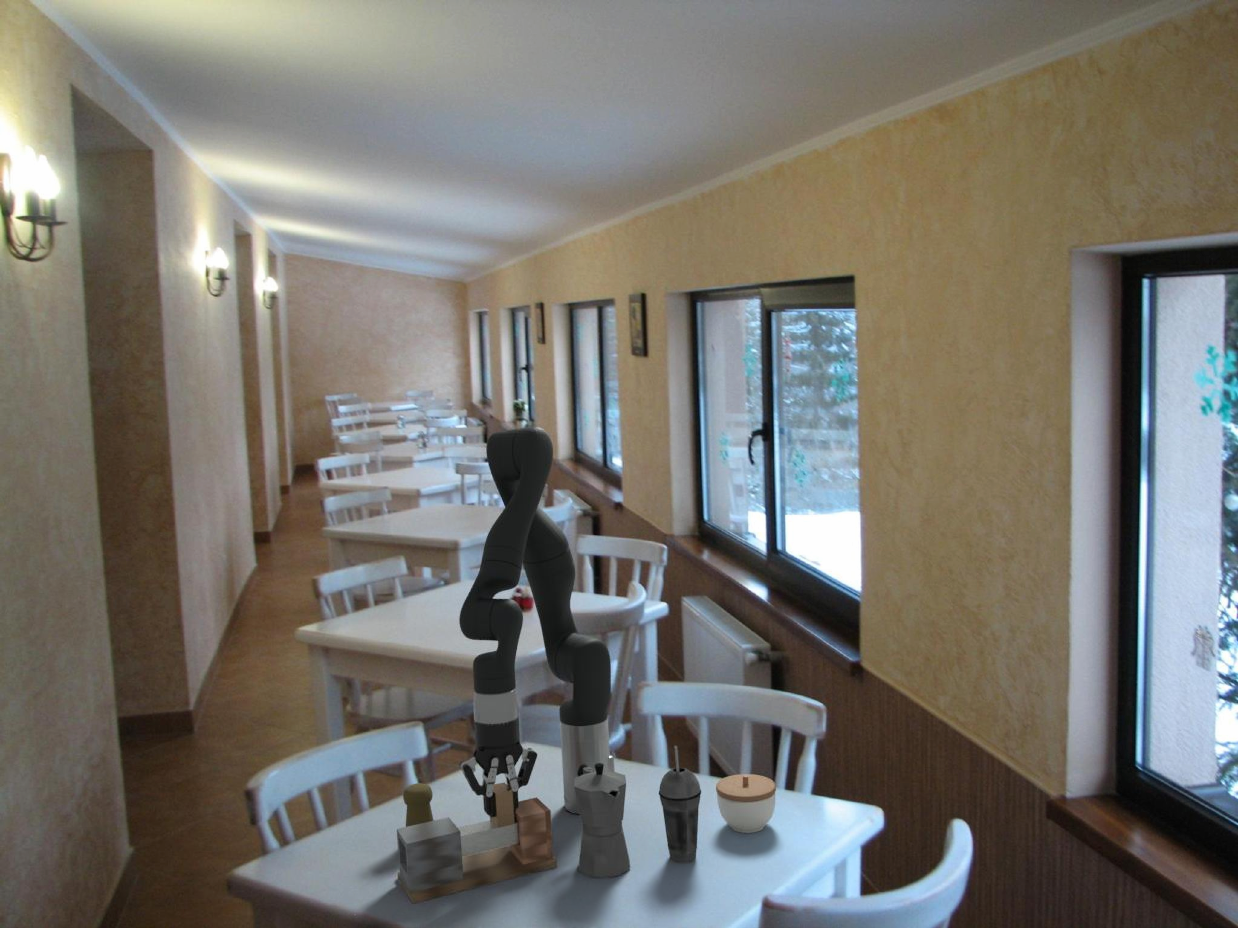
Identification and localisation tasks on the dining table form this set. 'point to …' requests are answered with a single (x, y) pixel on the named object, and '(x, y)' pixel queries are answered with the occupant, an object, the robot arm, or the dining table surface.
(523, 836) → the block assembly on base
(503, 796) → the two-tone wooden block
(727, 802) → the lidded jar
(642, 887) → the dining table surface
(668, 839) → the beverage cup
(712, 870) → the dining table surface
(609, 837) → the coffeepot
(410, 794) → the cork
